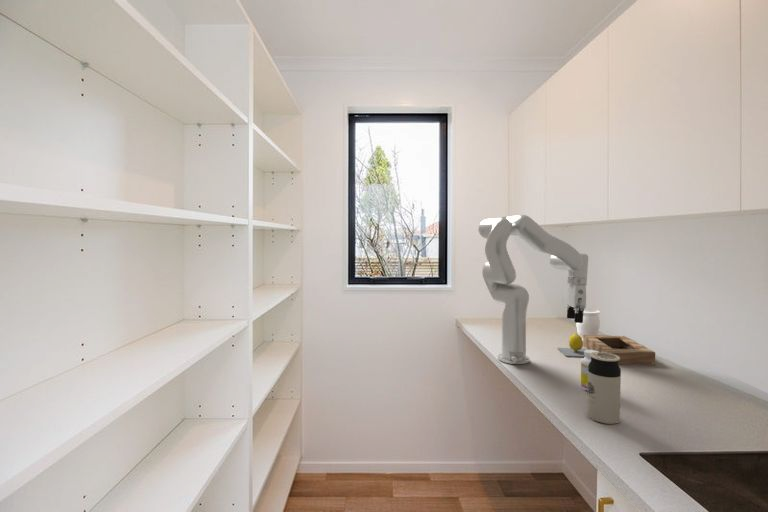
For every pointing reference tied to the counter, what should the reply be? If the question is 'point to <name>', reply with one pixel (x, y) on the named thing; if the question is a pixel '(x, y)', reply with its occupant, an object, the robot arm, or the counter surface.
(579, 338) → the lemon
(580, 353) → the grey mat
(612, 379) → the travel mug
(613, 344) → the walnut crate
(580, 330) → the jar
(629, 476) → the counter surface
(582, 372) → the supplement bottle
